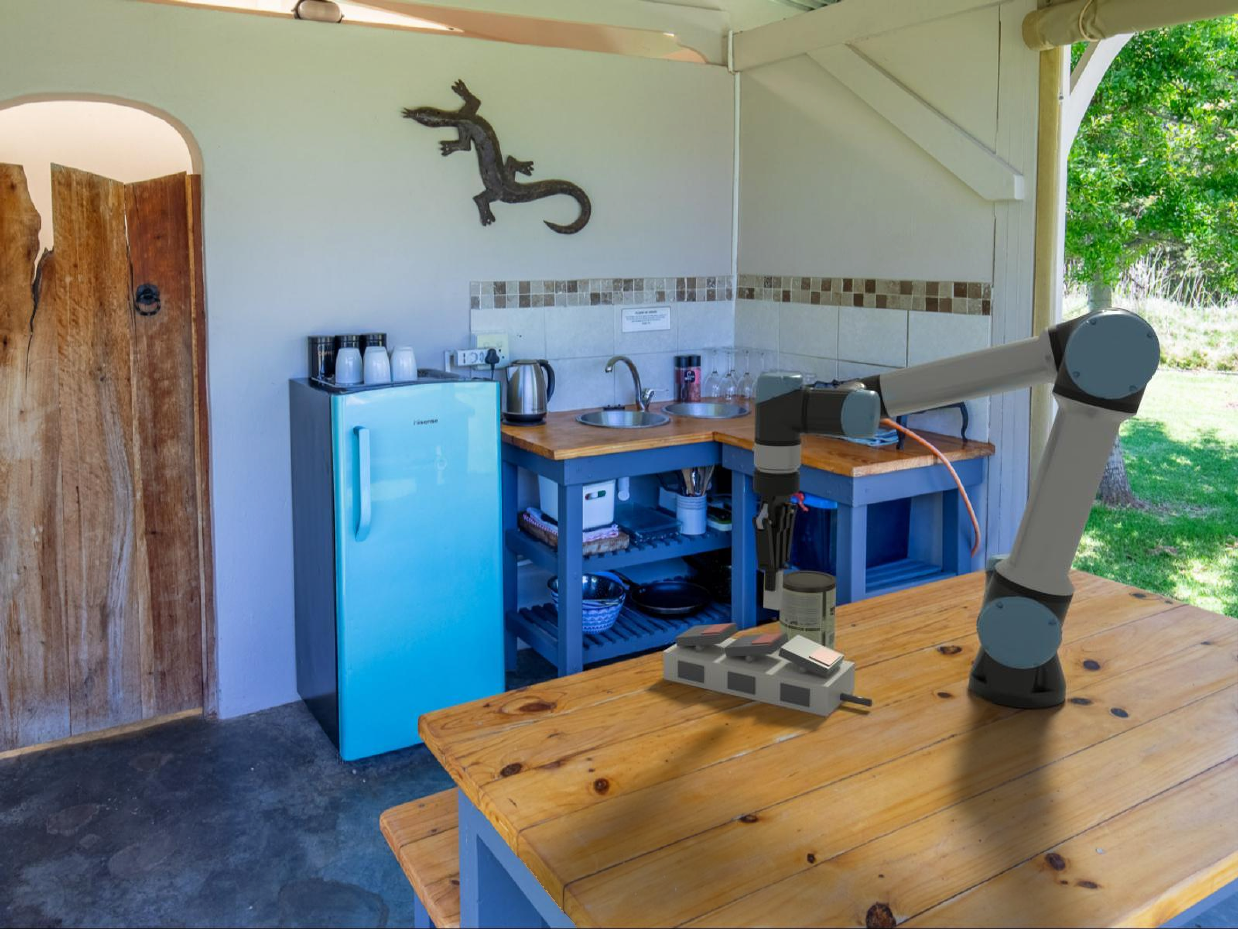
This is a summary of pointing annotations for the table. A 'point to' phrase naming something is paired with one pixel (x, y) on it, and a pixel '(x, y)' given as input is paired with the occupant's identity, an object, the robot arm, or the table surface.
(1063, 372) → the robot arm
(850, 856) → the table surface
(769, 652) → the rocker
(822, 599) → the coffee can
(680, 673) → the power strip
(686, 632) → the rocker
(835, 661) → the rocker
